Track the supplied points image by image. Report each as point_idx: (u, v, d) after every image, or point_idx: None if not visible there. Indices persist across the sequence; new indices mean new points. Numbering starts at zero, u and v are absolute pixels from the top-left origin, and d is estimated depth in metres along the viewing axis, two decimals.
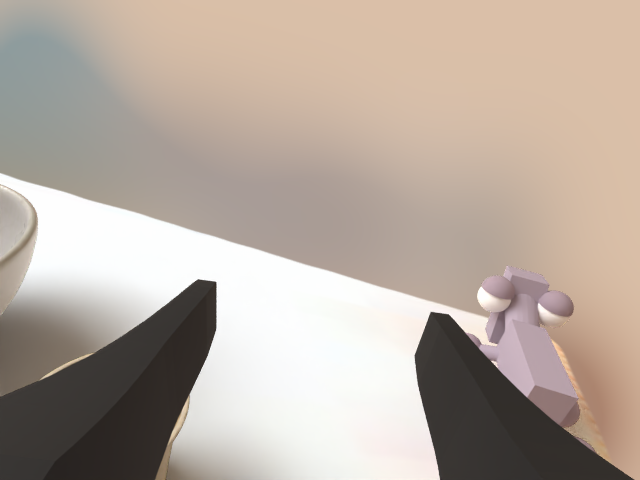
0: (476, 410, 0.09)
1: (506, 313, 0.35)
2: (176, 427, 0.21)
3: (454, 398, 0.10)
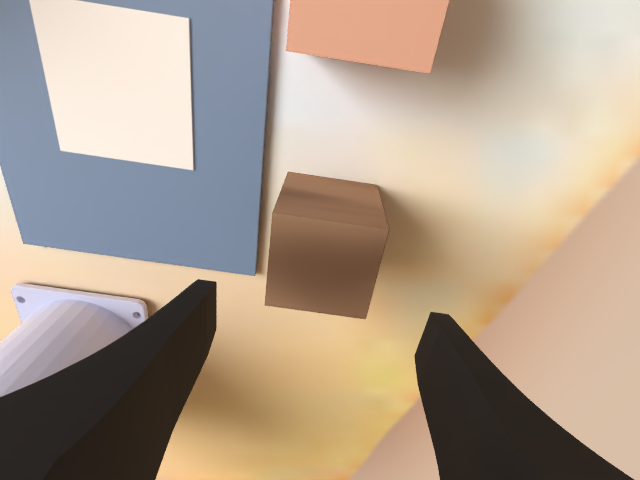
0: (476, 410, 0.09)
1: None
2: None
3: (454, 398, 0.10)
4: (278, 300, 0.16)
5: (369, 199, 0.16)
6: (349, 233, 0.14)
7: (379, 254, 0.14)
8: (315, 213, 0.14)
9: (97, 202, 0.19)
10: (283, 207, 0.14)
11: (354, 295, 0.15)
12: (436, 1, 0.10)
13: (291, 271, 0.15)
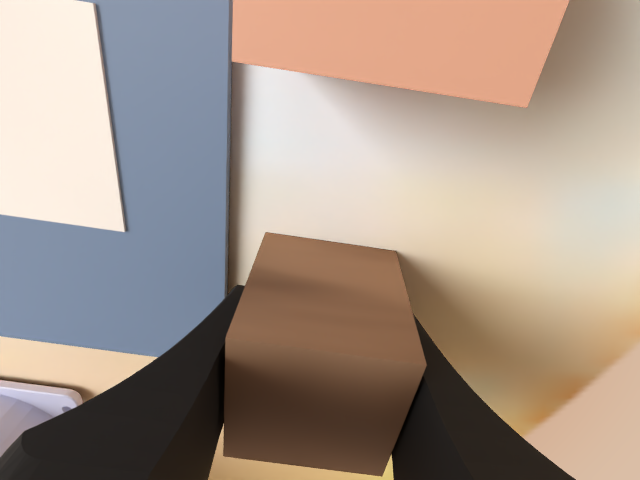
0: (422, 403, 0.08)
1: None
2: None
3: None
4: (245, 451, 0.10)
5: (387, 287, 0.11)
6: (358, 369, 0.08)
7: (408, 397, 0.09)
8: (300, 333, 0.08)
9: None
10: (247, 319, 0.09)
11: (365, 447, 0.10)
12: None
13: (262, 416, 0.09)
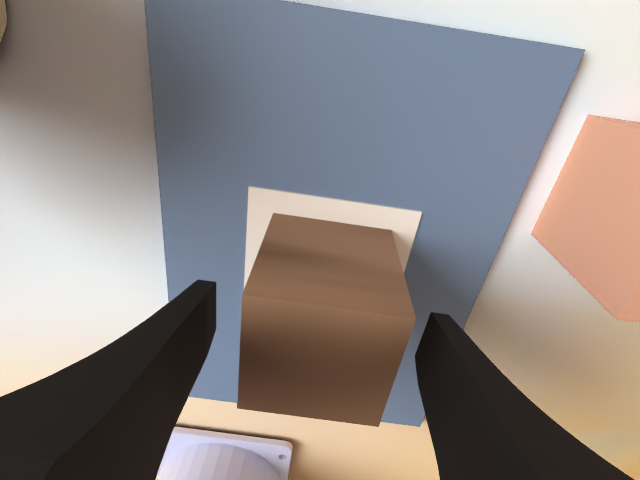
0: (476, 410, 0.09)
1: None
2: None
3: (454, 398, 0.10)
4: (256, 403, 0.11)
5: (382, 258, 0.12)
6: (357, 322, 0.10)
7: (401, 349, 0.10)
8: (306, 292, 0.10)
9: None
10: (259, 281, 0.10)
11: (363, 398, 0.11)
12: None
13: (273, 369, 0.10)
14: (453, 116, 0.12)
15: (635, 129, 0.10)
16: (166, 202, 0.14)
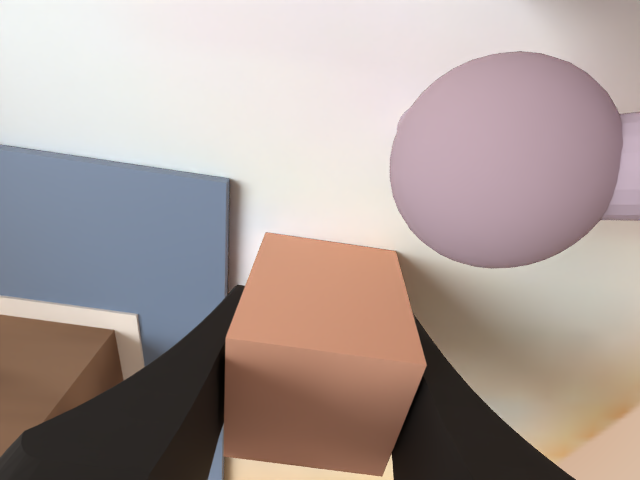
0: (422, 403, 0.08)
1: None
2: None
3: None
4: None
5: (62, 373, 0.12)
6: None
7: None
8: None
9: None
10: None
11: None
12: (384, 433, 0.09)
13: None
14: (130, 235, 0.12)
15: (252, 268, 0.10)
16: None
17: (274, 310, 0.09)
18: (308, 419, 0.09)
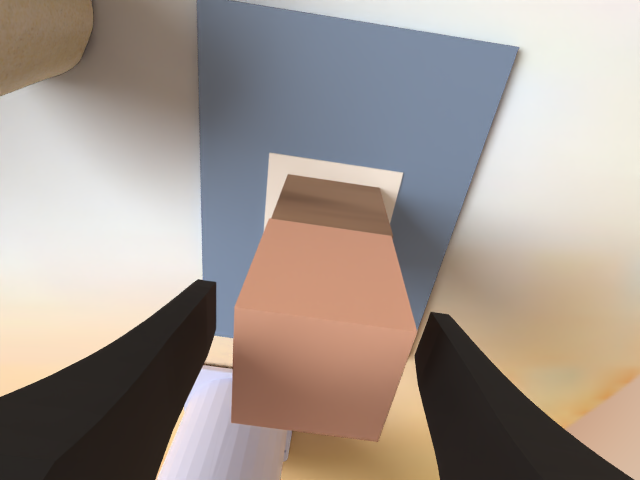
0: (476, 410, 0.09)
1: None
2: None
3: (454, 398, 0.10)
4: None
5: (372, 203, 0.16)
6: None
7: None
8: (315, 219, 0.14)
9: None
10: (282, 212, 0.14)
11: None
12: (380, 399, 0.10)
13: None
14: (425, 97, 0.16)
15: (257, 249, 0.11)
16: (204, 166, 0.18)
17: (278, 285, 0.10)
18: (310, 385, 0.10)
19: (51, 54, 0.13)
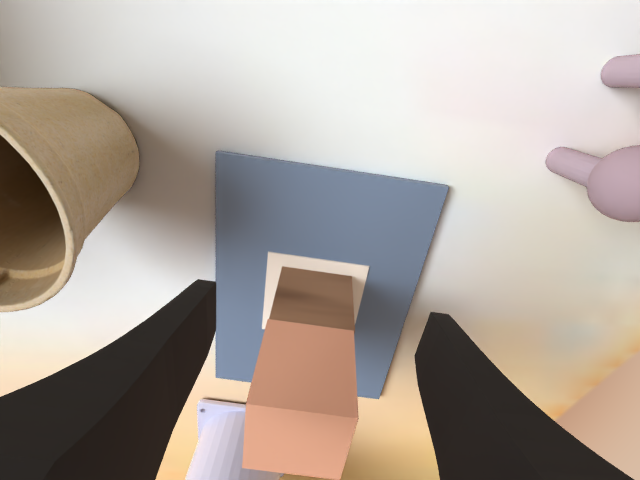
0: (476, 410, 0.09)
1: None
2: (67, 245, 0.13)
3: (454, 399, 0.10)
4: None
5: (343, 296, 0.21)
6: None
7: None
8: (301, 317, 0.19)
9: None
10: (277, 311, 0.19)
11: None
12: (339, 455, 0.16)
13: None
14: (382, 217, 0.21)
15: (259, 351, 0.17)
16: (218, 259, 0.23)
17: (273, 383, 0.15)
18: (293, 446, 0.16)
19: (114, 203, 0.19)
